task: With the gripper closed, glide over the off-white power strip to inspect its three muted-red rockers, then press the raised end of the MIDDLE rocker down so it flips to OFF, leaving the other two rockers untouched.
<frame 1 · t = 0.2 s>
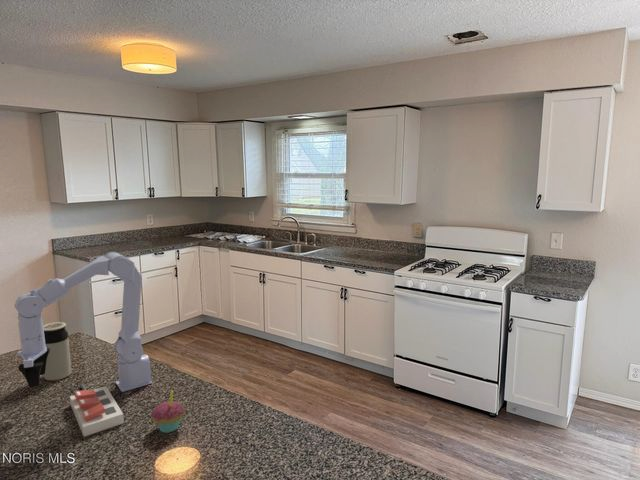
hand: (37, 380, 124), 10 cm above the countertop, fingers open, 7 cm apart
rocker middle: (89, 402, 123), point 4 cm above the countertop, hinge at -11.0°
rocker 2: (93, 411, 118), point 4 cm above the countertop, hinge at 11.0°
travel mug: (58, 376, 148), on the countertop
power strip: (96, 413, 125), on the countertop
rocker 1: (85, 394, 128), point 4 cm above the countertop, hinge at -11.0°
cupcake: (168, 428, 118), on the countertop
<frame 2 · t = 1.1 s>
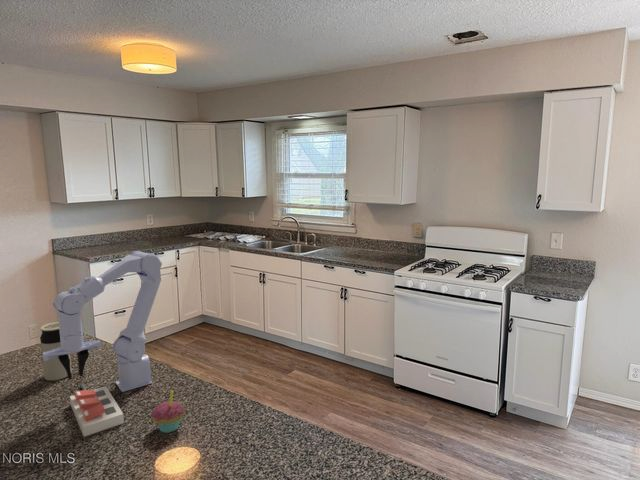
hand: (75, 376, 127), 9 cm above the countertop, fingers closed
nothing on the countertop moved.
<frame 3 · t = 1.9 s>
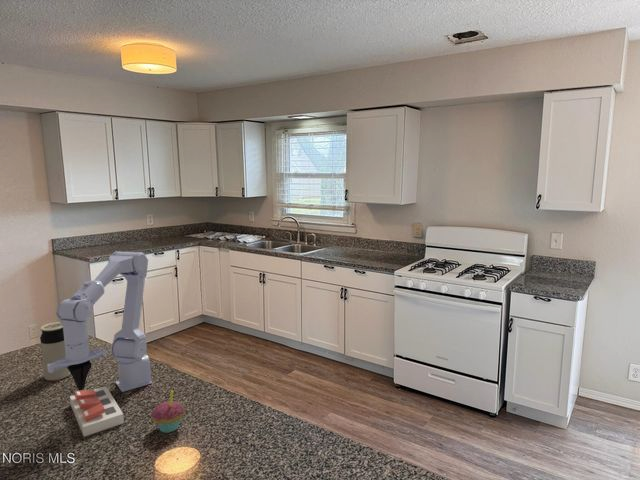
hand: (80, 388, 120), 10 cm above the countertop, fingers closed
nothing on the countertop moved.
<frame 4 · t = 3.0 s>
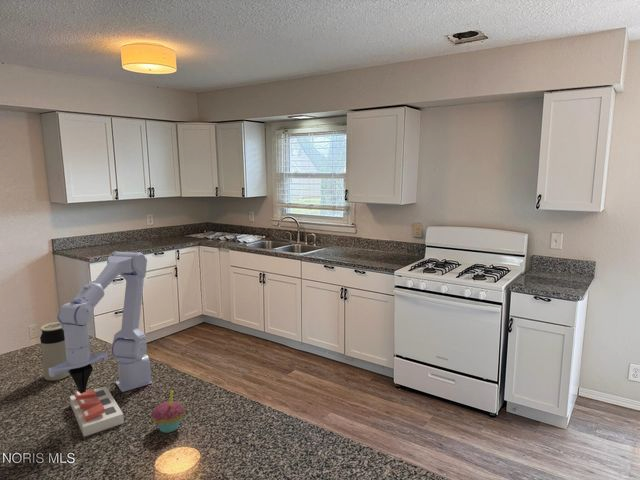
hand: (82, 391, 120), 8 cm above the countertop, fingers closed
nothing on the countertop moved.
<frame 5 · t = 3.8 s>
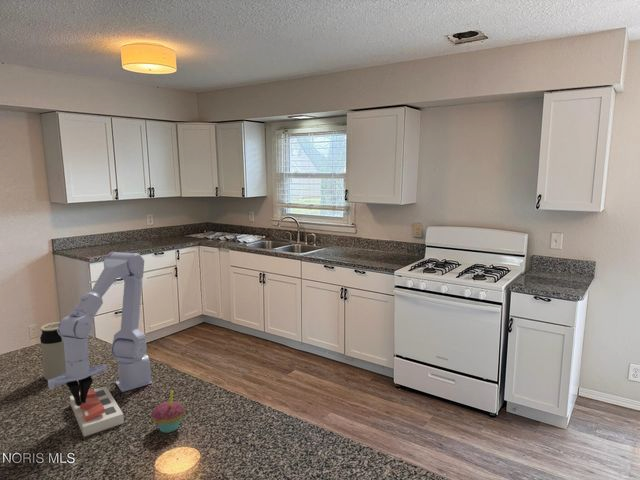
hand: (80, 403, 122), 4 cm above the countertop, fingers closed, pressing on rocker middle
rocker middle: (89, 402, 123), point 4 cm above the countertop, hinge at -10.8°, touching gripper
everything else where it was.
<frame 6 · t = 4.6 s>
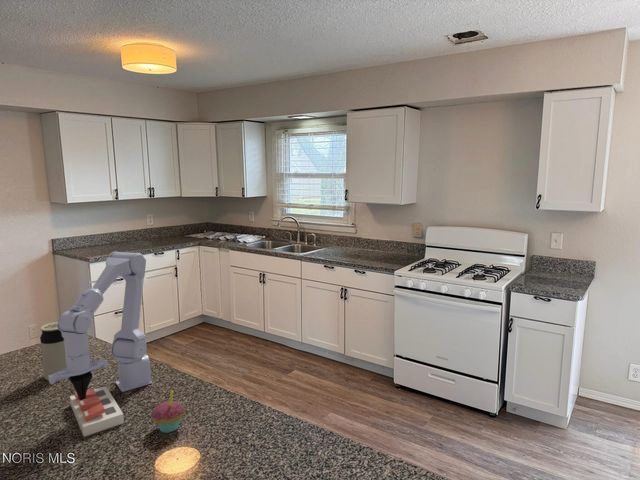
hand: (81, 398, 122), 6 cm above the countertop, fingers closed
rocker middle: (89, 402, 123), point 4 cm above the countertop, hinge at 0.9°
everything else where it was.
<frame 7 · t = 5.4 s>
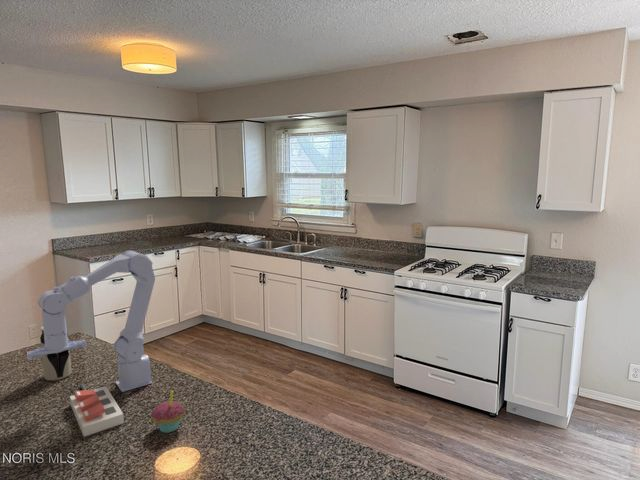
hand: (59, 376, 126), 10 cm above the countertop, fingers closed
rocker middle: (89, 402, 123), point 4 cm above the countertop, hinge at 13.2°, touching power strip
everything else where it was.
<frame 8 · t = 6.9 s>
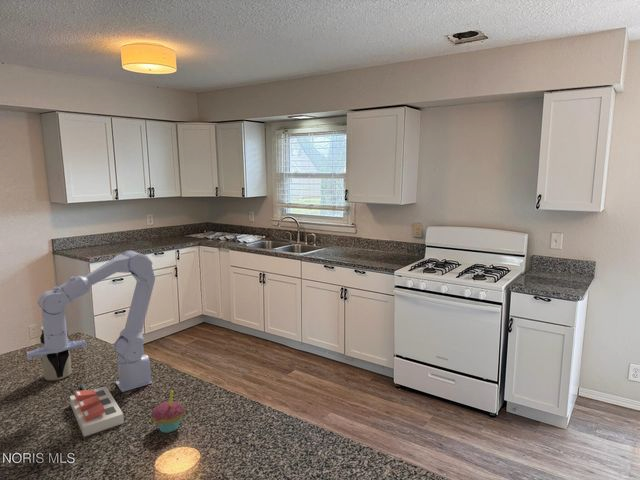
hand: (59, 376, 126), 10 cm above the countertop, fingers closed
rocker middle: (89, 402, 123), point 4 cm above the countertop, hinge at 6.0°
everything else where it was.
at the end: rocker middle at +6° (first picture: -11°); rocker 1 at -11° (first picture: -11°); rocker 2 at +11° (first picture: +11°) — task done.
